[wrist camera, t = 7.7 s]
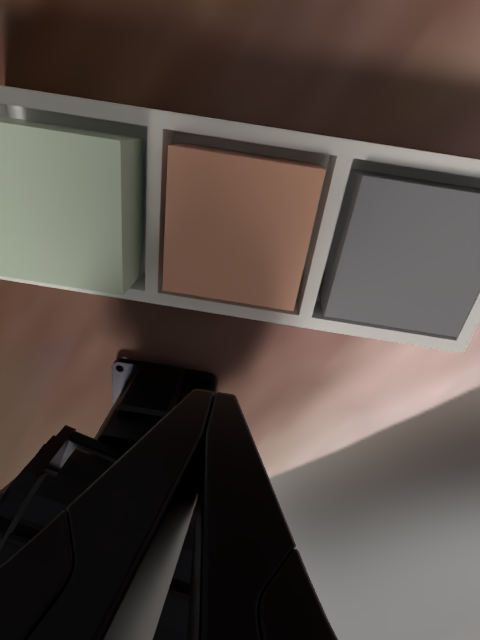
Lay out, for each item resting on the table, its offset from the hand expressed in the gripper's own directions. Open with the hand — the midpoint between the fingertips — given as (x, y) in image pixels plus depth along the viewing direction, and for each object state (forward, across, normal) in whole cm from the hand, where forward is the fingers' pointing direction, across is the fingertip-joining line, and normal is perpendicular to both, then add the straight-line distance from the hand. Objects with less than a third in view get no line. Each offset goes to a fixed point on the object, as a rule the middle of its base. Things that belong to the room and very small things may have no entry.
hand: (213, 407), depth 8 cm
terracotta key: (+12, 0, -1) cm, 12 cm away
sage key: (+11, +8, -1) cm, 13 cm away
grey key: (+12, -7, -1) cm, 14 cm away
